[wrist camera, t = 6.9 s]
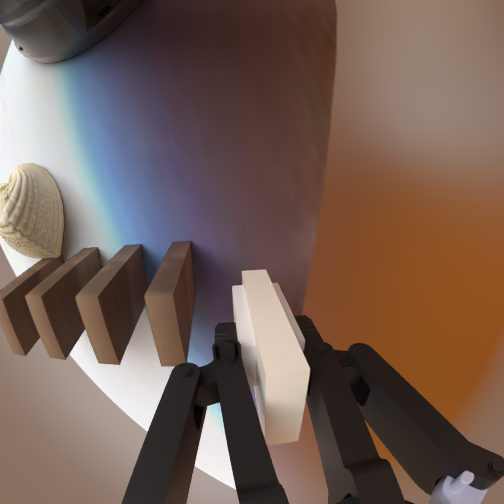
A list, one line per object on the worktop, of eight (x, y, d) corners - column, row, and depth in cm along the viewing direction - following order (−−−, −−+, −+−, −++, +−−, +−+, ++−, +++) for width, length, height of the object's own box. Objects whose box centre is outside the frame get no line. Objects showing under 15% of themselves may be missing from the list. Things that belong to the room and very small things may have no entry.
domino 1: (61, 298, 23) (13, 353, 14) (50, 253, 22) (-10, 298, 12) (72, 298, 23) (25, 356, 14) (61, 253, 22) (2, 299, 12)
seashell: (27, 134, 16) (42, 185, 14) (63, 183, 24) (88, 233, 22) (-30, 192, 13) (-24, 256, 12) (14, 228, 21) (32, 284, 20)
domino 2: (94, 295, 24) (49, 357, 14) (83, 248, 22) (24, 296, 13) (108, 295, 24) (65, 359, 14) (97, 247, 22) (40, 296, 13)
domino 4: (179, 293, 25) (161, 366, 15) (172, 242, 23) (144, 296, 13) (195, 293, 25) (186, 366, 15) (190, 240, 23) (173, 295, 14)
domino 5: (244, 333, 20) (264, 445, 10) (241, 270, 18) (265, 375, 9) (265, 331, 20) (298, 440, 10) (265, 269, 18) (310, 369, 9)
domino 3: (134, 295, 24) (98, 363, 15) (124, 245, 22) (75, 296, 13) (149, 295, 24) (119, 364, 15) (141, 244, 23) (97, 297, 13)
